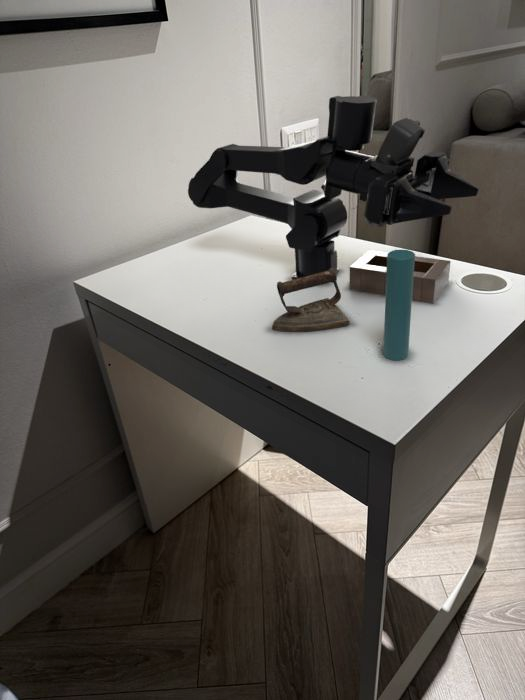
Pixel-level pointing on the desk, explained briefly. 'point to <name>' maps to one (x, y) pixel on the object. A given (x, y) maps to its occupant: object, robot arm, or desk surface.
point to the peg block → (426, 280)
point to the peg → (398, 303)
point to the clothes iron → (310, 306)
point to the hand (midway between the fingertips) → (464, 200)
